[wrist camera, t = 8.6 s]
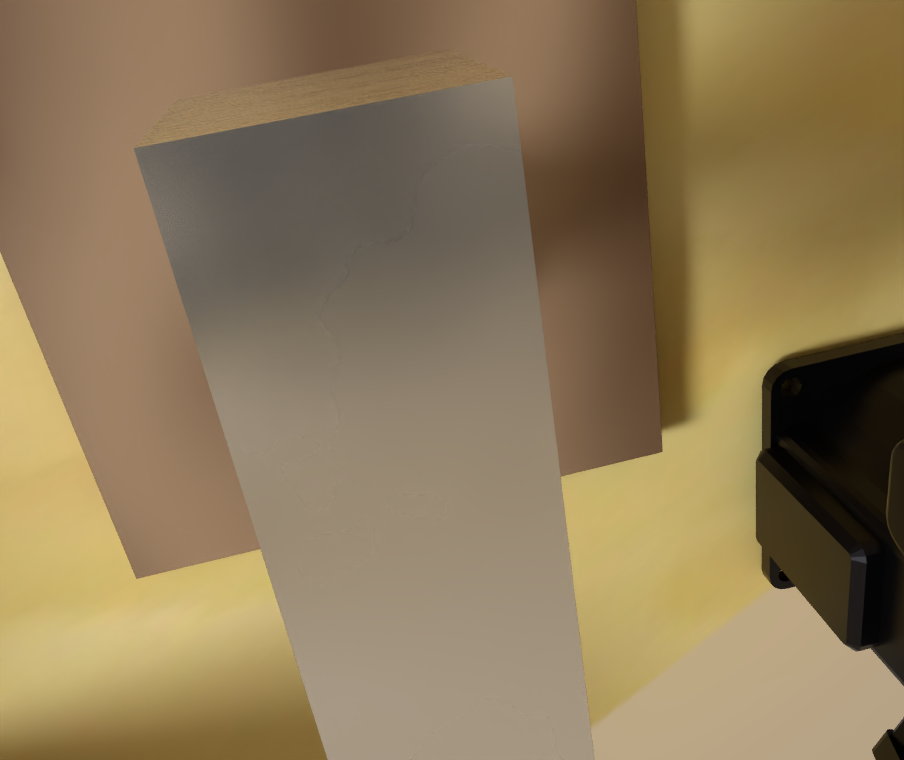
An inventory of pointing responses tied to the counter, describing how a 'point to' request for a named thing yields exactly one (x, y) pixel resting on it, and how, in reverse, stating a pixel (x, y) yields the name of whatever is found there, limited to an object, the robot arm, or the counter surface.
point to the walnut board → (148, 267)
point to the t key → (385, 396)
